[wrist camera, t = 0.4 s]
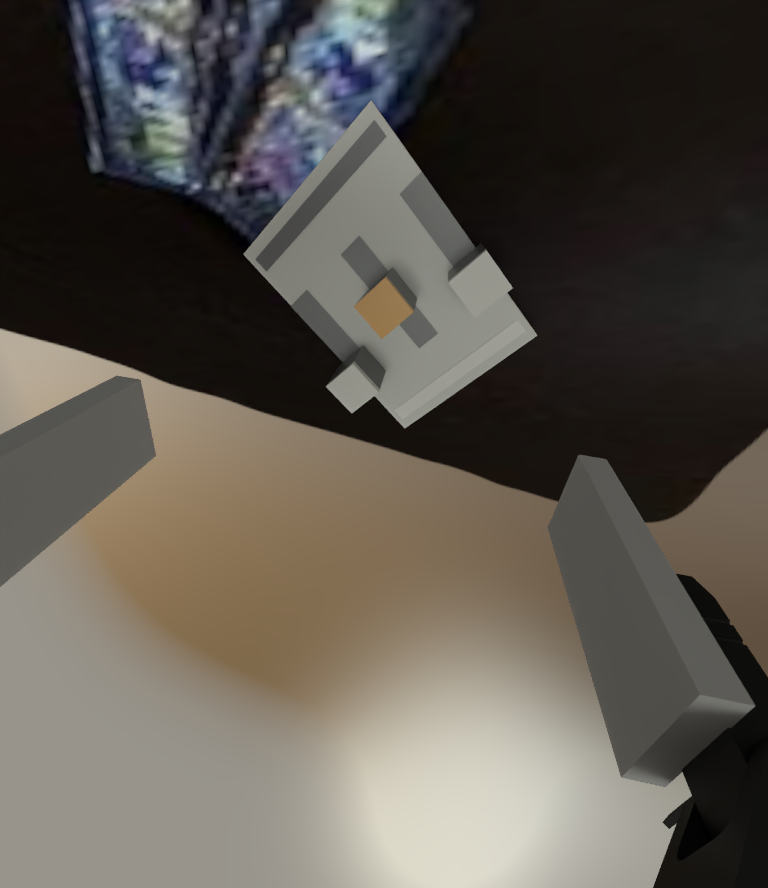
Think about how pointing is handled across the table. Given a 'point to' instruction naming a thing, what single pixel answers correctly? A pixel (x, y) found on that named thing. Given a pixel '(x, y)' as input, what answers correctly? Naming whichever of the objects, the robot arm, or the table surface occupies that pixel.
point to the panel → (384, 269)
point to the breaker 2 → (357, 379)
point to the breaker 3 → (478, 280)
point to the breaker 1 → (387, 303)
